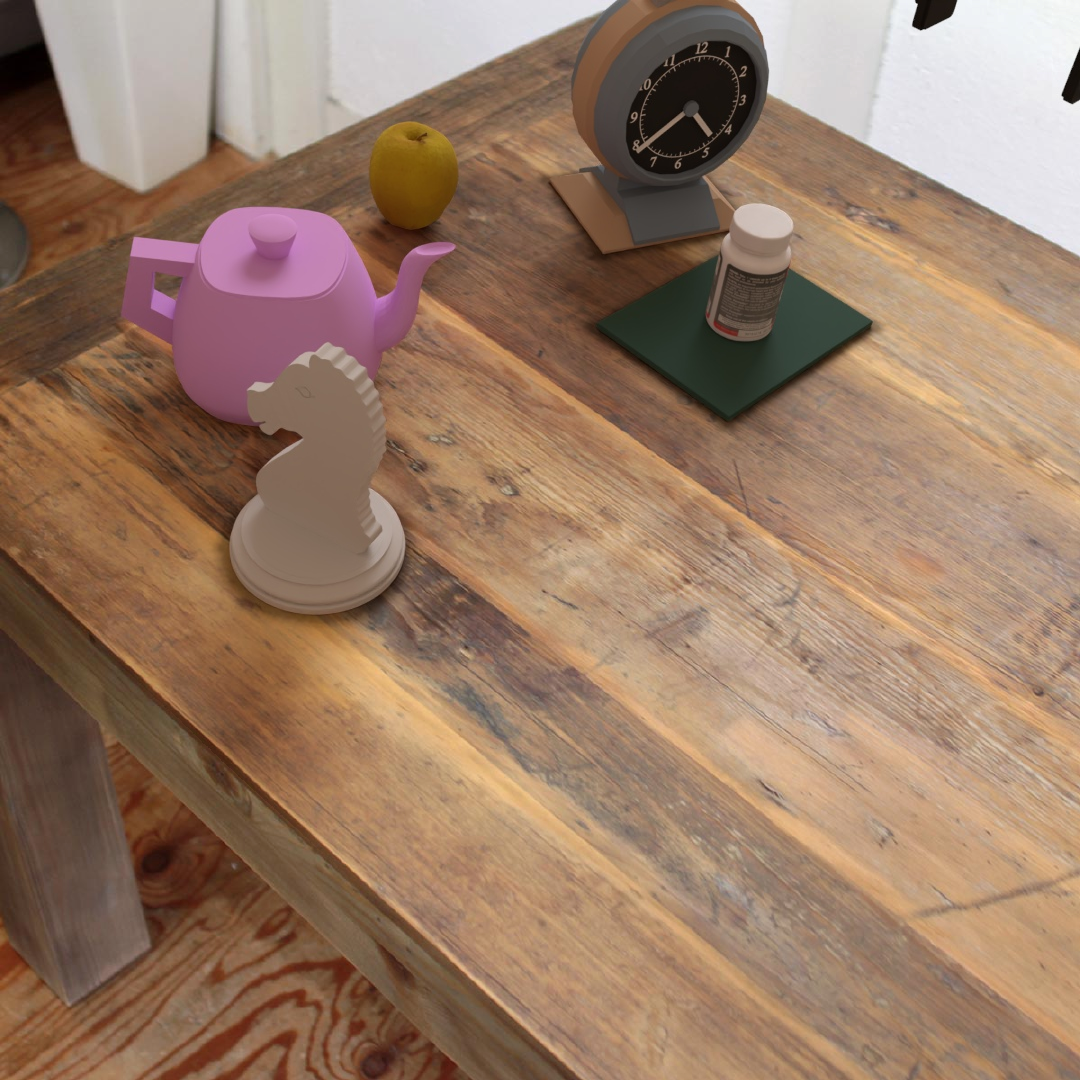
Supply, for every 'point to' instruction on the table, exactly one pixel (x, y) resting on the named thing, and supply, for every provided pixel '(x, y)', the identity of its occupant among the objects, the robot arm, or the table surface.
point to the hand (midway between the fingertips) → (1003, 57)
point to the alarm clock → (662, 117)
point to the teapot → (267, 301)
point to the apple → (412, 174)
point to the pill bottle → (750, 273)
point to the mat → (727, 365)
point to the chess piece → (319, 492)
